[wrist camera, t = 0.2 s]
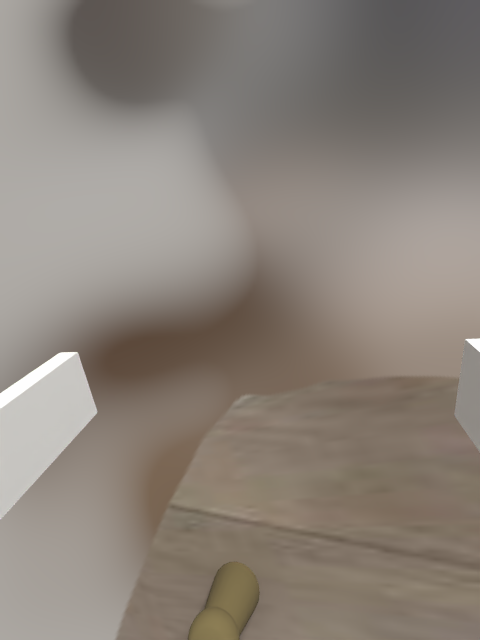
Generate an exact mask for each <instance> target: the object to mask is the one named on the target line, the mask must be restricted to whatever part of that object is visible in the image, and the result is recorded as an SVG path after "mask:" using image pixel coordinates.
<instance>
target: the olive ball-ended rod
mask: <svg viewBox="0 0 480 640" xmlns="http://www.w3.org/2000/svg"><path fill="white" fill-rule="evenodd" d="M259 593H260V592H259V584H258V582H257V579H256V577H255V575H254V574H253V572H252V571H251V570H250V569H249V568H248V567H247V566H245V565H244V564H241V563H238V562H229V563H227V564H225V565H223V566H222V567H221V568H220V569H219V570H218V572H217V574H216V576H215V578H214V582H213V585H212V588H211V591H210V594H209V597H208V600H207V603H206V606H205V609H204V610H203V611H201V612H200V613H199V614H198V615H197V616H196V618H195V619H194V621H193V623H192V625H191V627H190V630H189V635H188V640H239V636H240V634H241V632H242V631H243V629H244V627H245V625H246V624H247V622H248V620H249V618H250V617H251V615H252V613H253V611H254V610H255V608H256V605H257V603H258V600H259Z"/></svg>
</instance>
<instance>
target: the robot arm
mask: <svg viewBox="0 0 480 640" xmlns="http://www.w3.org/2000/svg"><path fill="white" fill-rule="evenodd" d="M96 414H97V410H96V406H95V403H94V400H93V398H92V395H91V392H90V388H89V385H88V382H87V379H86V376H85V373H84V370H83V367H82V364H81V361H80V358H79V355H78V352H66V353H59V354H57V355H56V356H54V357H53V358H52V359H50V360H49V361H47V362H46V363H44V364H43V365H41V366H40V367H38V368H37V369H35V370H34V371H32V372H31V373H30V374H28V375H27V376H25V377H24V378H22V379H21V380H19V381H18V382H16V383H15V384H13V385H12V386H11V387H9V388H7V389H6V390H5V391H3V392H2V393H0V520H1V518H3V516H4V515H5V514H6V513H7V512H8V511H9V510H10V509H11V508H12V507H13V505H14V504H15V503H16V502H17V501H18V500H19V499H20V498H21V496H22V495H23V494H24V493H25V492H26V491H27V490H28V489H29V488H30V487H31V485H32V484H33V483H34V482H35V481H36V480H37V479H38V478H39V476H41V474H42V473H43V472H44V471H45V470H46V469H47V468H48V467H49V466H50V464H51V463H52V462H53V461H54V460H55V459H56V458H57V457H58V456H59V455H60V453H61V452H62V451H63V450H64V449H65V448H66V447H67V446H68V445H69V443H70V442H71V441H72V440H73V439H74V438H75V437H76V435H77V434H78V433H79V432H80V431H81V430H82V429H83V428H84V427H85V426H86V425H87V424H88V422H89V421H90V420H91V419H92V418H93V417H94V416H95V415H96ZM454 416H455V417H456V419H457V420H458V421H459V423H460V424H461V426H462V427H463V429H464V430H465V432H466V433H467V434H468V436H469V437H470V439H471V440H472V442H473V443H474V445H475V446H476V447H477V449H478V450H479V452H480V339H465V345H464V351H463V358H462V366H461V373H460V380H459V387H458V394H457V401H456V408H455V415H454Z"/></svg>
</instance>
